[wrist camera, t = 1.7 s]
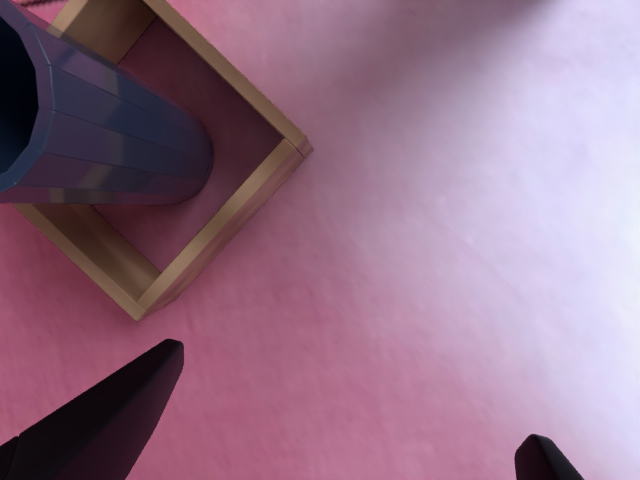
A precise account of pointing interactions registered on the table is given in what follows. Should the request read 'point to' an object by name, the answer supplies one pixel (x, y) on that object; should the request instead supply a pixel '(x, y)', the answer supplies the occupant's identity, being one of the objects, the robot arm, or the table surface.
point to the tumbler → (88, 125)
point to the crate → (163, 288)
